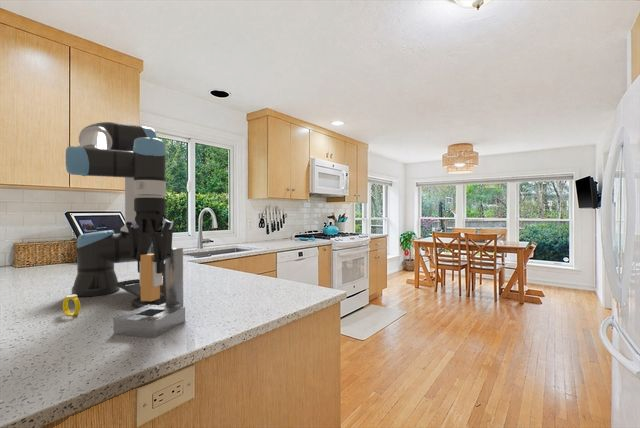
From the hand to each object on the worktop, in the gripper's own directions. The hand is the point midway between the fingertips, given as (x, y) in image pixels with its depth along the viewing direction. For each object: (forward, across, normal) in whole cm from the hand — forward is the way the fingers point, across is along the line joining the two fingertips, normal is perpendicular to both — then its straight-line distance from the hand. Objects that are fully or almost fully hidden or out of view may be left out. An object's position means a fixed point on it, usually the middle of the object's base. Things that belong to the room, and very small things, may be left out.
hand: (151, 285), depth 85 cm
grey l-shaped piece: (+11, 0, +3) cm, 12 cm away
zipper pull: (+12, -18, +17) cm, 27 cm away
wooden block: (+11, -21, +31) cm, 39 cm away
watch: (+11, -31, +4) cm, 33 cm away
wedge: (+4, 0, 0) cm, 4 cm away
